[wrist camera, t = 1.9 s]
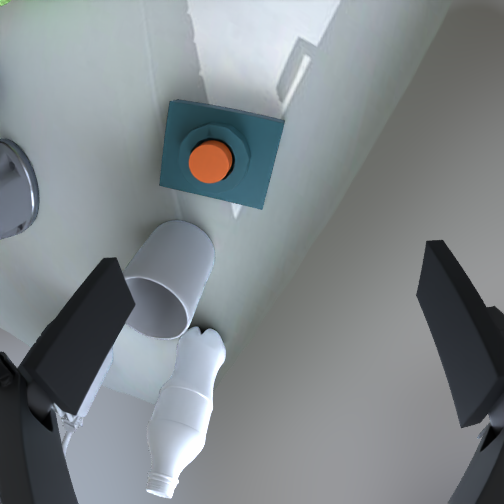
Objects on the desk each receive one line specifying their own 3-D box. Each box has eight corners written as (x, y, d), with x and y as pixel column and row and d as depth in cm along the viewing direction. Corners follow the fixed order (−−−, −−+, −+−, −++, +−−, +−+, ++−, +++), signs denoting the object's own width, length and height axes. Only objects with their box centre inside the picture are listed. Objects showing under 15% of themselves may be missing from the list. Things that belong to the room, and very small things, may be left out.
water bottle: (174, 336, 47) (119, 482, 26) (197, 313, 43) (139, 481, 22) (212, 359, 48) (173, 503, 27) (238, 339, 45) (202, 503, 24)
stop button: (191, 172, 29) (186, 178, 27) (197, 136, 27) (191, 140, 25) (228, 181, 29) (224, 187, 27) (235, 144, 27) (232, 149, 25)
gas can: (114, 368, 55) (66, 472, 34) (93, 358, 55) (42, 459, 34) (113, 320, 47) (44, 448, 26) (87, 309, 47) (14, 429, 26)
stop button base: (166, 179, 33) (152, 192, 30) (177, 99, 28) (162, 103, 25) (264, 201, 33) (260, 217, 30) (284, 120, 28) (283, 126, 25)
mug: (157, 208, 35) (113, 260, 26) (225, 235, 36) (200, 297, 27) (141, 282, 42) (107, 338, 32) (198, 305, 42) (174, 367, 33)
